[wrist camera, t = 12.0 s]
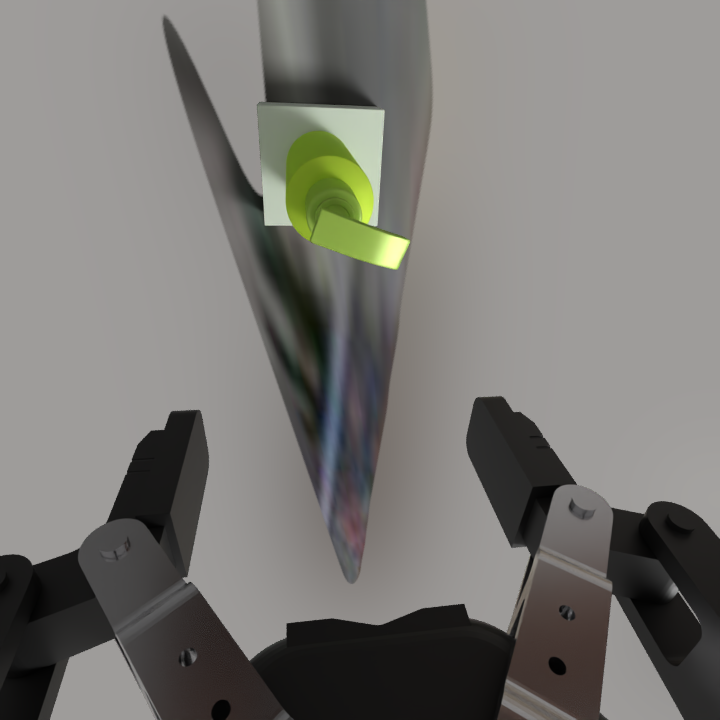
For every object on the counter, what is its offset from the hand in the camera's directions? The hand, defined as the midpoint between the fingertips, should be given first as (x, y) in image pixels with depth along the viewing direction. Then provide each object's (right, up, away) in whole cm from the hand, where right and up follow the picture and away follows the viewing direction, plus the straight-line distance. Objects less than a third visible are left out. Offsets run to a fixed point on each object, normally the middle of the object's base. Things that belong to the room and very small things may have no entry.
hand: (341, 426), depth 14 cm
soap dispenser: (-3, +19, +28) cm, 34 cm away
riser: (-3, +21, +31) cm, 38 cm away
